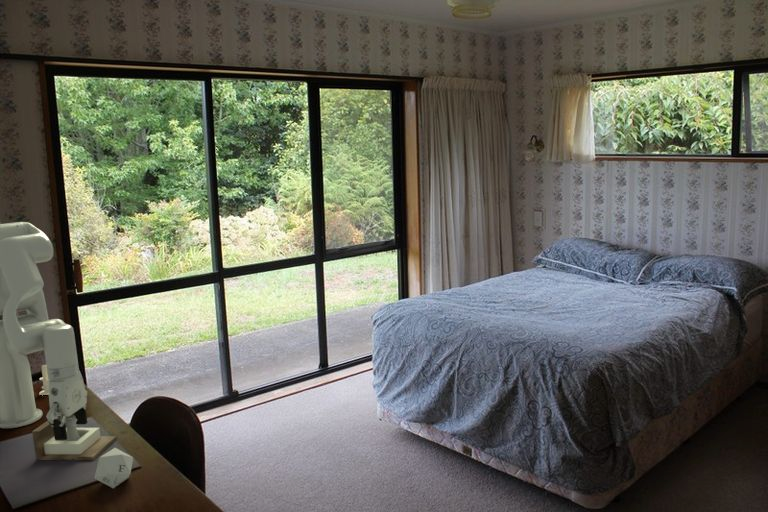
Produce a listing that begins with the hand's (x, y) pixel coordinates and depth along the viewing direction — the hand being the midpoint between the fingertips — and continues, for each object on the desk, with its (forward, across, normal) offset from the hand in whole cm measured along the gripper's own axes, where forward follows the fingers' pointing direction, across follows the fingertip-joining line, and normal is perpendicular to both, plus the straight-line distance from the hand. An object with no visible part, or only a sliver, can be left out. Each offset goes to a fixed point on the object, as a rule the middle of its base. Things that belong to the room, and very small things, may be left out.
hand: (71, 431), depth 178 cm
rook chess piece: (+4, 0, 0) cm, 4 cm away
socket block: (+4, 0, 0) cm, 4 cm away
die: (+5, -17, -21) cm, 28 cm away
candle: (+5, +41, +34) cm, 54 cm away
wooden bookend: (+5, 0, -1) cm, 5 cm away
